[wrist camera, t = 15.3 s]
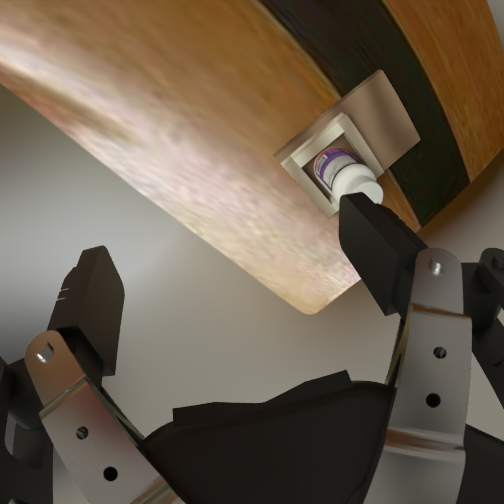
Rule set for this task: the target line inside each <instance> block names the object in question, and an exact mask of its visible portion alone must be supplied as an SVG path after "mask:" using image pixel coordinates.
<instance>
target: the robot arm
mask: <svg viewBox="0 0 504 504" xmlns="http://www.w3.org/2000/svg"><path fill="white" fill-rule="evenodd" d="M339 241H340V245H341V248H342V250H343V252H344V253H345V255H346V256H347V258H348V259H349V261H350V262H351V264H352V265H353V267H354V268H355V270H356V271H357V273H358V274H359V276H360V277H361V279H362V280H363V282H364V283H365V285H366V286H367V288H368V290H369V291H370V293H371V294H372V296H373V297H374V299H375V300H376V302H377V304H378V305H379V307H380V308H381V310H382V312H383V313H384V315H385V316H388V315H391V314H394V313H397V312H398V313H399V315H400V316H401V318H400V322H399V326H398V330H397V335H396V340H395V345H394V349H393V353H392V358H391V362H390V366H389V370H388V373H387V376H386V380H385V383H384V384H382V383H378V382H371V381H351V380H350V377H349V374H348V372H347V370H344V371H340V372H337V373H334V374H331V375H327V376H324V377H320V378H317V379H313V380H310V381H306V382H304V383H302V384H300V385H298V386H297V387H294V388H292V389H290V390H288V391H286V392H285V393H282V394H280V395H278V396H277V397H275V398H273V399H270V400H269V401H266V402H263V403H227V402H212V403H206V404H200V405H194V406H187V407H181V408H174V409H173V421H172V422H169V423H167V424H165V425H164V426H161V427H160V428H158V429H157V430H155V431H154V432H152V433H151V434H150V435H148V436H147V437H146V438H145V437H144V436H143V435H142V434H141V433H140V432H139V431H138V429H137V428H136V427H135V426H134V425H133V424H132V423H131V422H130V420H129V419H128V418H127V417H126V415H125V414H124V413H123V412H122V410H121V409H120V408H119V407H118V405H117V404H116V403H115V402H114V400H113V399H112V398H111V396H110V395H109V394H108V392H107V391H106V390H105V388H104V387H103V386H102V385H101V384H102V377H104V376H113V375H115V370H116V360H117V350H118V341H119V332H120V325H121V318H122V311H123V304H124V297H125V294H124V287H123V283H122V280H121V278H120V276H119V274H118V272H117V270H116V268H115V265H114V263H113V261H112V259H111V257H110V255H109V252H108V250H107V248H106V247H105V246H98V247H94V248H90V249H87V250H83V251H82V254H81V256H80V259H79V261H78V264H77V267H74V268H73V269H72V270H71V271H70V272H69V274H68V275H67V276H66V277H65V279H64V282H63V284H62V287H61V292H59V295H58V298H57V299H58V301H56V304H55V307H54V310H53V313H52V316H51V319H50V322H49V325H48V328H47V331H45V332H42V333H40V334H38V335H37V336H36V337H34V338H33V339H32V341H31V342H30V343H29V344H28V346H27V348H26V351H25V354H24V358H23V359H20V360H18V361H16V362H14V363H11V364H9V365H8V364H7V363H6V362H5V361H4V360H3V359H2V358H1V357H0V504H53V483H52V481H53V471H52V470H53V444H54V446H55V448H56V450H57V452H58V454H59V455H60V457H61V459H62V461H63V462H64V464H65V466H66V467H67V469H68V471H69V472H70V474H71V476H72V477H73V479H74V480H75V482H76V484H77V485H78V487H79V488H80V490H81V491H82V493H83V494H84V496H85V497H86V499H87V500H88V502H89V503H90V504H504V441H502V440H500V439H498V438H496V437H494V436H492V435H489V434H487V433H485V432H483V431H481V430H479V429H476V428H474V427H472V426H470V425H468V424H466V417H467V409H468V408H467V407H468V399H469V388H470V375H471V352H473V354H474V356H475V357H476V359H477V361H478V363H479V364H480V366H481V368H482V369H483V371H484V373H485V375H486V377H487V378H488V380H489V382H490V384H491V386H492V387H493V389H494V391H495V393H496V395H497V397H498V399H499V401H500V403H501V405H502V407H503V409H504V326H503V325H502V324H501V322H500V321H499V319H498V318H497V316H498V314H499V313H500V311H501V308H503V310H504V251H503V250H501V249H498V248H488V249H486V250H484V251H483V252H482V254H481V258H480V260H479V263H460V261H459V260H458V259H457V257H456V256H454V255H453V254H452V253H450V252H448V251H446V250H444V249H440V248H429V247H428V246H427V245H426V244H425V243H424V242H423V241H422V240H421V239H420V238H419V237H418V236H417V235H416V234H415V233H414V232H413V231H412V230H411V229H410V228H409V227H408V226H406V224H405V223H404V222H403V221H402V220H401V219H399V217H398V216H397V215H396V214H395V213H394V212H393V211H392V210H391V209H389V208H387V207H385V206H383V205H381V204H379V203H376V204H375V203H374V202H373V201H372V200H371V199H370V198H369V197H368V196H367V195H366V194H365V193H364V192H357V193H351V194H345V195H342V196H341V197H340V201H339ZM7 417H10V418H11V419H12V420H13V421H15V422H16V427H15V435H14V444H13V455H11V454H10V453H9V452H8V450H7V449H6V446H5V442H4V441H5V440H4V439H5V431H6V423H7Z"/></svg>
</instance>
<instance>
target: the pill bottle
mask: <svg viewBox="0 0 504 504" xmlns="http://www.w3.org/2000/svg"><path fill="white" fill-rule="evenodd" d="M314 174H315V176H316V178H317V179H318V180H319V182H320V183H321V184H322V185H323V186H324V187H325V189H326V190H327V191H328V192H329V193H330V194H331V196H332V197H333V198H334V199H335V200H336V202H337V203H338V204H339V201H340V197H341V196H342V195H345V194H351V193H357V192H364V193H365V194H366V195H367V196H368V197H369V198H370V199H371V200H372V201H373V202H374V203H375V204H376V203H379V204H381V202H382V200H383V191H382V188H381V186H380V185H379V184H378V183H377V182H376V177H375V175H374V173H373V172H372V171H371V169H370V168H368V167H367V166H366V165H365V164H363V163H362V162H361V161H359V160H358V159H357V158H356V157H354V156H353V155H352V154H350V153H349V152H348V151H347V150H345V149H343V148H341V147H337V146H333V147H328V148H326V149H324V150H323V151H321V152H320V153H319V154H318V156H317V157H316V159H315V162H314Z"/></svg>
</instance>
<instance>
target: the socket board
mask: <svg viewBox="0 0 504 504" xmlns="http://www.w3.org/2000/svg"><path fill="white" fill-rule="evenodd" d="M420 140H421V139H420V137H419V135H418V133H417V131H416V129H415V127H414V125H413V123H412V121H411V119H410V117H409V116H408V114H407V112H406V110H405V108H404V106H403V104H402V103H401V101H400V99H399V97H398V96H397V94H396V92H395V90H394V89H393V87H392V85H391V84H390V82H389V80H388V79H387V77H386V75H385V74H384V72H383V71H382V70H377V71H376V72H375V73H373V74H372V75H371V76H370V77H368V78H367V79H366V80H364V81H363V82H362V83H361V84H359V85H358V86H357V87H355V88H354V89H353V90H352V91H350V92H349V93H348V94H347V95H345V96H344V97H343V98H341V99H340V100H339V101H338V102H336V103H335V104H334V105H333V106H332V107H330V108H329V109H328V110H327V111H325V112H324V113H323V114H322V115H320V116H319V117H318V118H317V119H316V120H314V121H313V122H312V123H311V124H310V125H308V126H307V127H306V128H305V129H304V130H302V131H301V132H300V133H299V134H298V135H296V136H295V137H294V138H293V139H292V140H290V141H289V142H288V143H287V144H286V145H285V146H283V147H282V148H281V149H280V150H279V151H278V152H276V153H275V154H274V155H273V156H274V157H275V158H276V159H277V160H278V161H279V162H280V164H281V165H282V166H283V167H284V169H285V170H286V171H287V172H288V173H289V174H290V175H291V176H292V177H293V178H294V180H295V181H296V182H297V183H298V184H299V185H300V186H301V187H302V189H303V190H304V191H305V192H306V193H307V194H308V195H309V196H310V198H311V199H312V200H313V201H314V202H315V203H316V205H317V206H318V207H319V208H320V209H321V210H322V211H323V213H324V214H325V215H326V216H327V217H328V219H329V218H330V217H331V216H332V215H334V214H335V213H336V212H337V211H338V210H339V204H338V203H337V202H336V200H335V199H334V198H333V197H332V196H331V194H330V193H329V192H328V191H327V190H326V189H325V187H324V186H323V185H322V184H321V183H320V182H319V180H318V179H317V178H316V176H315V174H314V162H315V159H316V157H317V156H318V154H319V153H320V152H321V151H323V150H324V149H326V148H328V147H333V146H337V147H341V148H343V149H345V150H347V151H348V152H349V153H350V154H352V155H353V156H354V157H356V158H357V159H358V160H359V161H361V162H362V163H363V164H365V165H366V166H367V167H368V168H370V169H371V171H372V172H373V173H374V175H375V177H376V179H377V178H378V177H379V176H380V175H382V174H383V173H384V171H385V170H386V169H387V168H388V167H389V166H391V165H392V164H393V163H394V162H395V161H397V160H398V159H399V158H400V157H401V156H402V155H404V154H405V153H406V152H407V151H408V150H409V149H411V148H412V147H413V146H414V145H415V144H416V143H418V142H419V141H420Z"/></svg>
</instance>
